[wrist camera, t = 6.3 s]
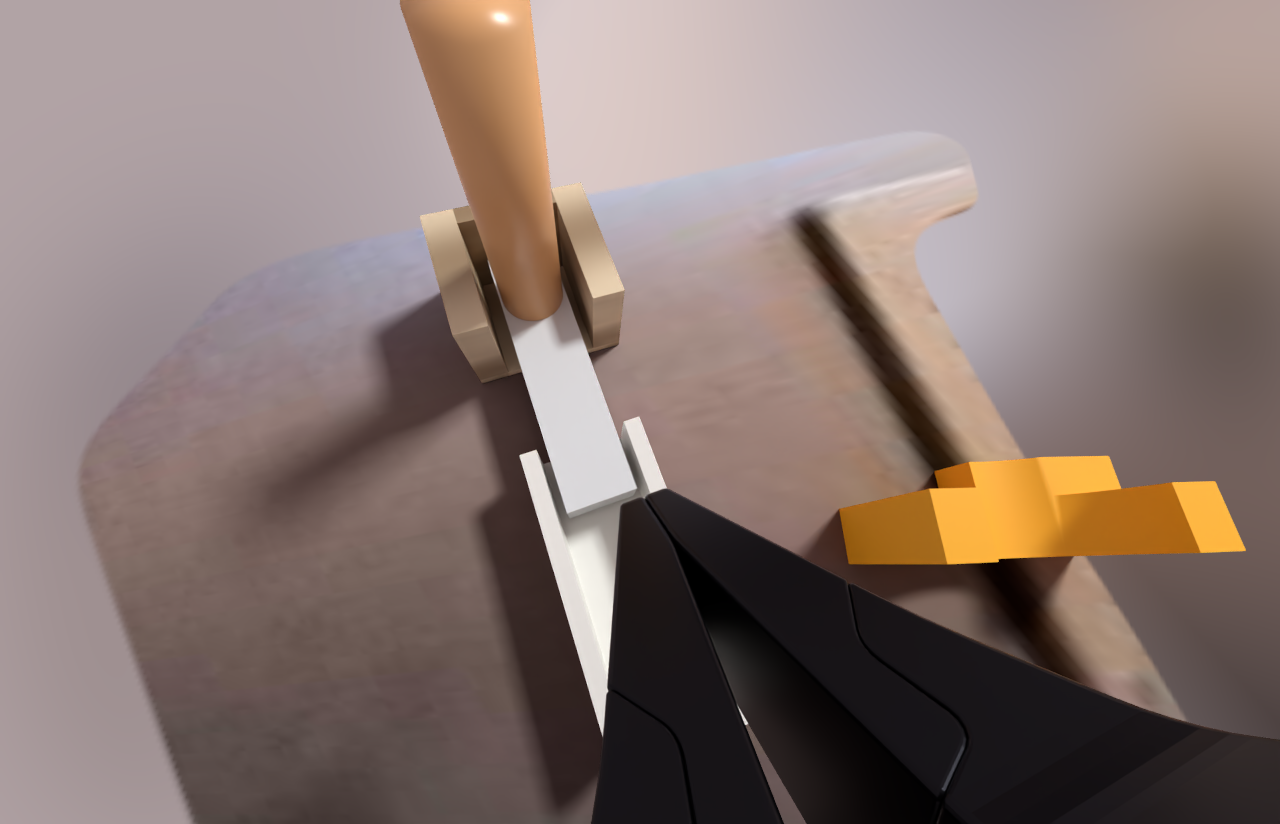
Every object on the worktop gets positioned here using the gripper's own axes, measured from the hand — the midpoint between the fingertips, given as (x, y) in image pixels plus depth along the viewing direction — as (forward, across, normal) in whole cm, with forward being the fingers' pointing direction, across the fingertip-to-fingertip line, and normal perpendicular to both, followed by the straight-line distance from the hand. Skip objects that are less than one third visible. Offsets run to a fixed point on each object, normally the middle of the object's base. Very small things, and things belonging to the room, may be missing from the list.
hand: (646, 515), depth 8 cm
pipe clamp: (+7, -17, +13) cm, 22 cm away
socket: (+18, 0, +1) cm, 19 cm away
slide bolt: (+15, 0, +3) cm, 15 cm away
